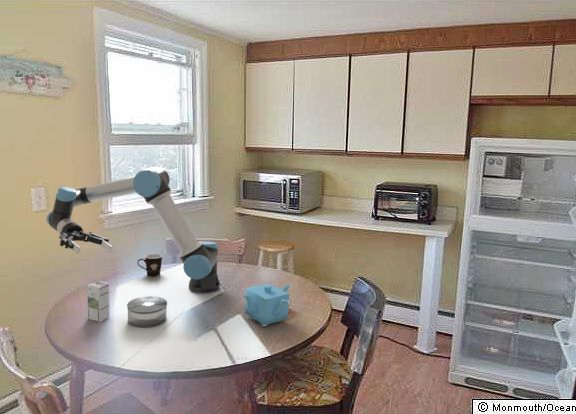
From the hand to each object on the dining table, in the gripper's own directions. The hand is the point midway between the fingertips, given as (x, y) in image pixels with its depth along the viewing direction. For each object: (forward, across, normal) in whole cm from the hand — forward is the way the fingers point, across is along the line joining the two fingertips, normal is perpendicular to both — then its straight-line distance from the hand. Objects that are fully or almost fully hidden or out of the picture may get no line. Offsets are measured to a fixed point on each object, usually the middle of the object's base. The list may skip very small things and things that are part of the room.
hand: (95, 249), depth 167 cm
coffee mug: (-17, -45, -23) cm, 54 cm away
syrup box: (+14, 0, -24) cm, 27 cm away
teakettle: (+61, -44, -7) cm, 76 cm away
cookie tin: (+27, -12, -19) cm, 35 cm away
